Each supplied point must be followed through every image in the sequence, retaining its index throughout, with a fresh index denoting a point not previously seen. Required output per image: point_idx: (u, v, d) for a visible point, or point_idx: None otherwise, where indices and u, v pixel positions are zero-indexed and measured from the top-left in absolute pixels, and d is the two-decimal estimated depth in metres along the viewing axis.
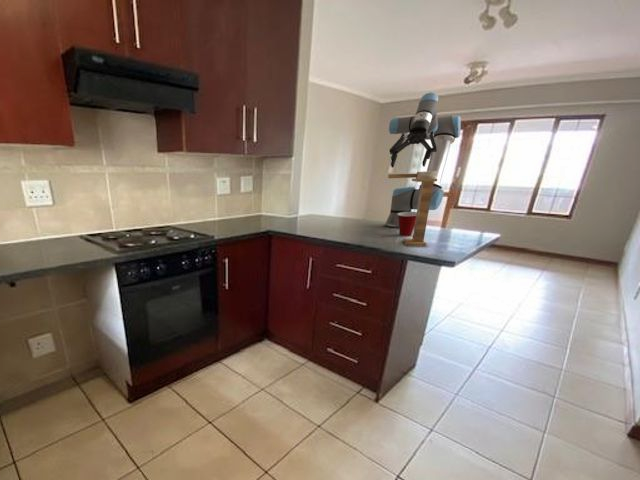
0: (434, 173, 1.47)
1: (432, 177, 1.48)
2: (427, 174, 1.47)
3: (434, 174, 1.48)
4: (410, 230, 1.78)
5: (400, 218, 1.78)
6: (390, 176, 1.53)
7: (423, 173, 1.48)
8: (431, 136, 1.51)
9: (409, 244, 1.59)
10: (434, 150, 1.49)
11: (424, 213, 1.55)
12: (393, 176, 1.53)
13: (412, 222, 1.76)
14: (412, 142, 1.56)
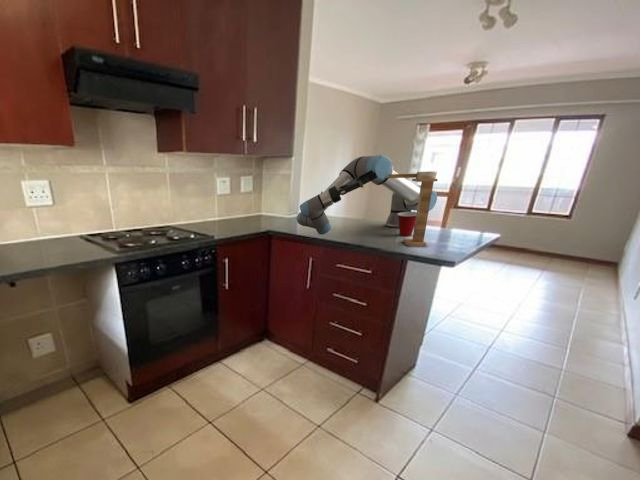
0: (434, 173, 1.47)
1: (432, 177, 1.48)
2: (427, 174, 1.47)
3: (434, 174, 1.48)
4: (410, 230, 1.78)
5: (400, 218, 1.78)
6: (390, 176, 1.53)
7: (423, 173, 1.48)
8: None
9: (409, 244, 1.59)
10: None
11: (424, 213, 1.55)
12: (393, 176, 1.53)
13: (412, 222, 1.76)
14: None
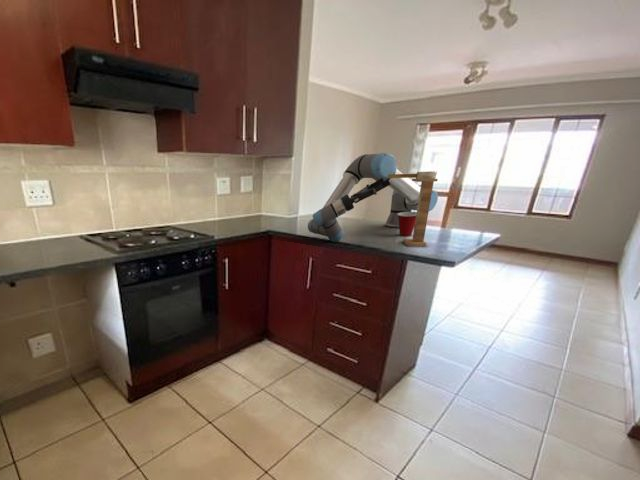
0: (434, 173, 1.47)
1: (432, 177, 1.48)
2: (427, 174, 1.47)
3: (434, 174, 1.48)
4: (410, 230, 1.78)
5: (400, 218, 1.78)
6: (390, 176, 1.53)
7: (423, 173, 1.48)
8: None
9: (409, 244, 1.59)
10: None
11: (424, 213, 1.55)
12: (393, 176, 1.53)
13: (412, 222, 1.76)
14: None
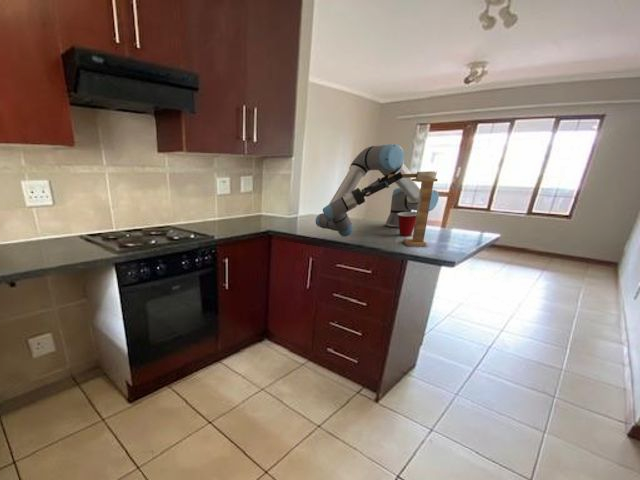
0: (434, 173, 1.47)
1: (432, 177, 1.48)
2: (427, 174, 1.47)
3: (434, 174, 1.48)
4: (410, 230, 1.78)
5: (400, 218, 1.78)
6: (390, 176, 1.53)
7: (423, 173, 1.48)
8: None
9: (409, 244, 1.59)
10: None
11: (424, 213, 1.55)
12: None
13: (412, 222, 1.76)
14: None
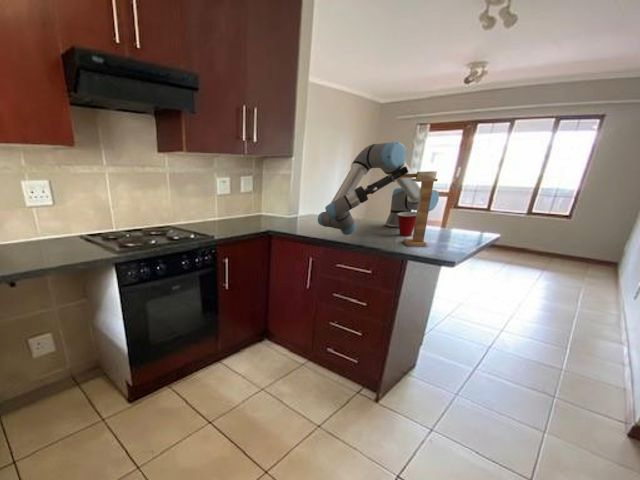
0: (434, 173, 1.47)
1: (432, 177, 1.48)
2: (427, 173, 1.47)
3: (434, 174, 1.48)
4: (410, 230, 1.78)
5: (400, 218, 1.78)
6: None
7: (423, 173, 1.48)
8: None
9: (409, 244, 1.59)
10: None
11: (424, 213, 1.55)
12: None
13: (412, 222, 1.76)
14: None
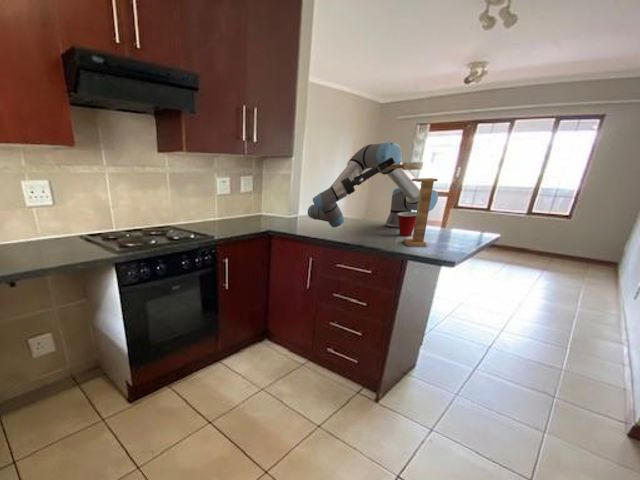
0: (420, 164, 1.47)
1: (418, 168, 1.48)
2: (413, 164, 1.47)
3: (420, 165, 1.47)
4: (410, 230, 1.78)
5: (400, 218, 1.78)
6: None
7: (409, 164, 1.48)
8: None
9: (409, 244, 1.59)
10: None
11: (424, 213, 1.55)
12: None
13: (412, 222, 1.76)
14: None
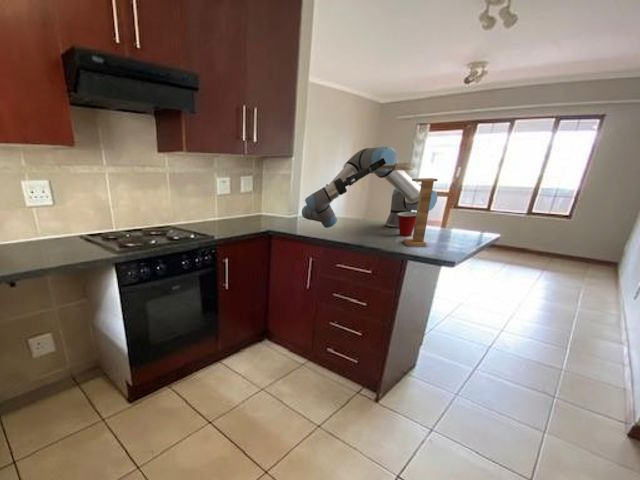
0: (411, 164, 1.48)
1: (409, 168, 1.48)
2: (404, 165, 1.48)
3: (411, 165, 1.48)
4: (410, 230, 1.78)
5: (400, 218, 1.78)
6: None
7: (400, 164, 1.49)
8: None
9: (409, 244, 1.59)
10: None
11: (424, 213, 1.55)
12: None
13: (412, 222, 1.76)
14: None
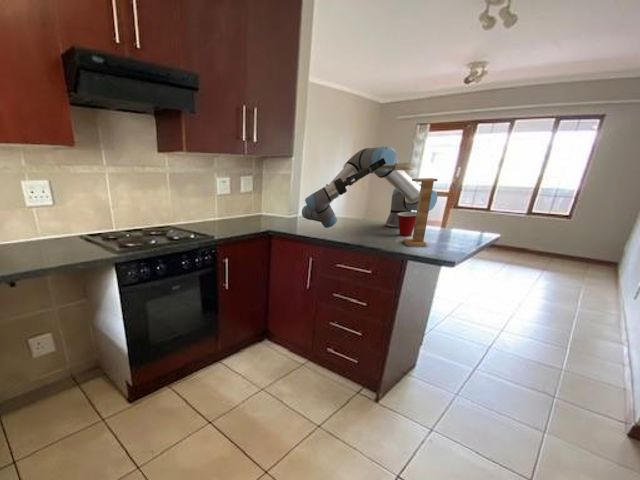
0: (411, 164, 1.48)
1: (409, 168, 1.48)
2: (404, 165, 1.48)
3: (411, 165, 1.48)
4: (410, 230, 1.78)
5: (400, 218, 1.78)
6: None
7: (400, 164, 1.49)
8: None
9: (409, 244, 1.59)
10: None
11: (424, 213, 1.55)
12: None
13: (412, 222, 1.76)
14: None
